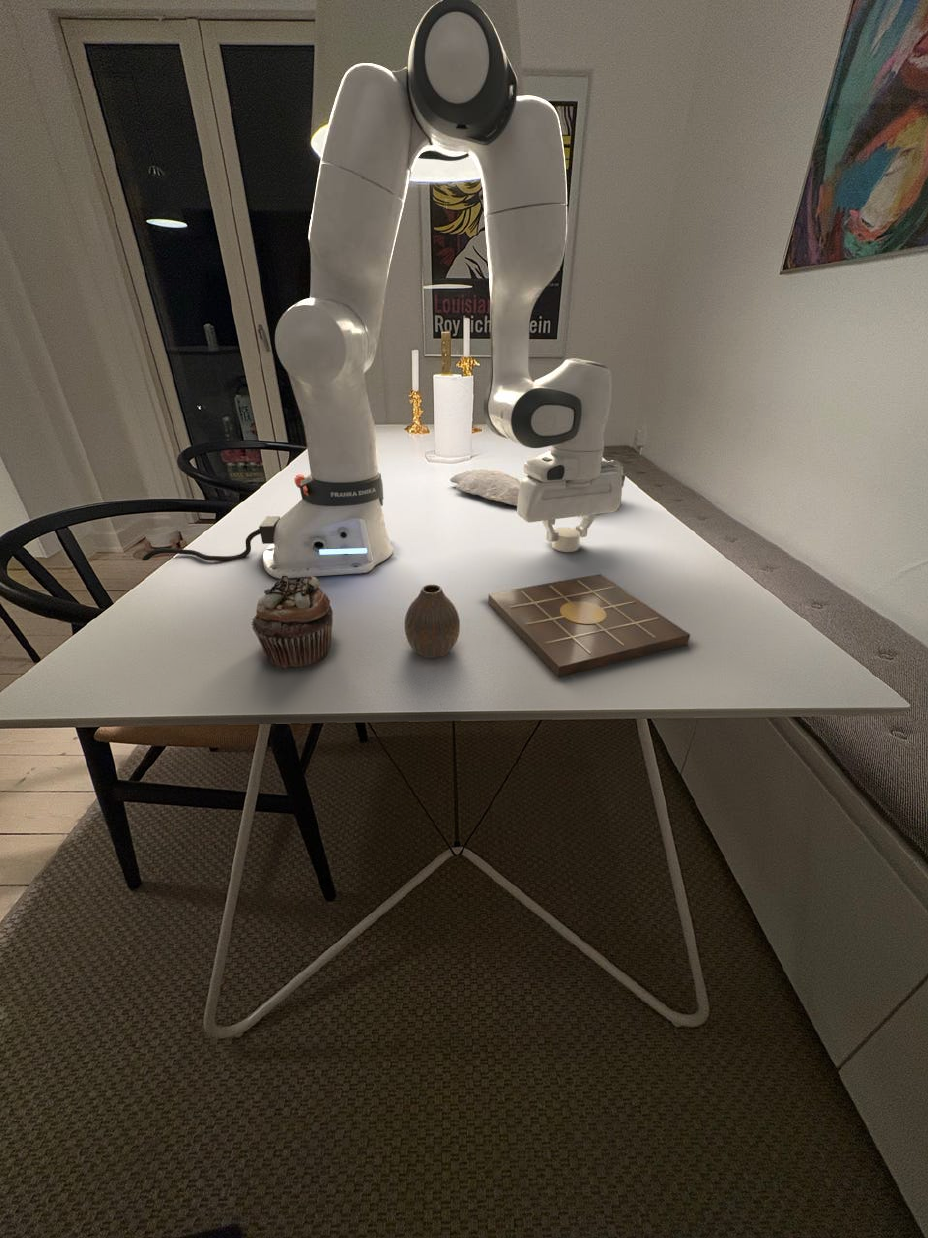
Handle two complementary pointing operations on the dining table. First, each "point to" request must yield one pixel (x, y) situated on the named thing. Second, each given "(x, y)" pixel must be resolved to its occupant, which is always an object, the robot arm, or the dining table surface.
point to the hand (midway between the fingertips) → (566, 538)
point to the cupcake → (294, 622)
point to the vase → (432, 623)
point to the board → (585, 623)
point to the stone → (489, 485)
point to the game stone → (567, 540)
